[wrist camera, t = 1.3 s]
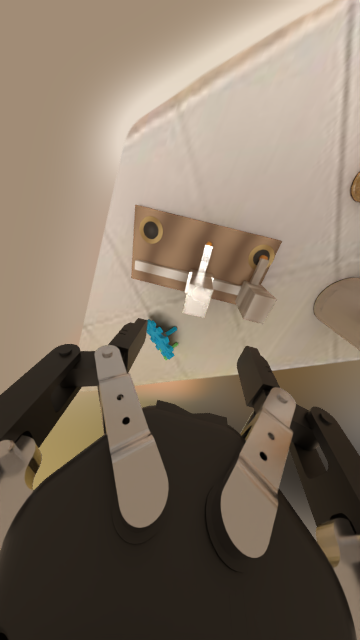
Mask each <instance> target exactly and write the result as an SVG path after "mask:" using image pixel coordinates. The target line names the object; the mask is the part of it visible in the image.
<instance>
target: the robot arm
mask: <svg viewBox="0 0 360 640" xmlns="http://www.w3.org/2000/svg"><path fill="white" fill-rule="evenodd" d="M314 313H315V315H316V317H317V318H318V319H319V320H320V321H321V322H323V323H324V324H325V325H327V326H328V327H329V328H331V329H332V330H333V331H335V332H336V333H337V334H338V335H340V336H341V337H342V338H344V339H345V340H346V341H348V342H349V343H350V344H352V345H353V346H354V347H356V348H357V349H358V350H360V278H348V279H344V280H340V281H338V282H336V283H334V284H332V285H330V286H329V287H327V288H326V289H325V290H324V291H323V292H322V293H321V294H320V295H319V296H318V298H317V300H316V302H315V305H314ZM147 324H148V321H147V320H144V319H140V318H138V319H137V320H136V322H135V323H128V324H126V325H124V327H123V328H122V329H121V330H120V331H119V333H118V334H117V335H116V336H115V337H114V339H113V340H112V341H111V342H110V343H109V344H108V345H105V346H102V347H100V348H98V349H97V350H96V351H80V348H79V347H78V346H77V345H74V344H65V345H61V346H58V347H56V348H55V349H53V350H52V351H51V352H50V353H49V354H47V355H46V356H45V357H44V358H43V359H42V360H41V361H39V362H38V363H37V364H36V365H35V366H34V367H32V368H31V369H30V370H29V371H28V372H27V373H25V374H24V375H23V376H22V377H21V378H20V379H19V380H17V381H16V382H15V383H14V384H13V385H11V386H10V387H9V388H8V389H7V390H6V391H5V392H4V393H2V394H1V395H0V549H1V550H0V640H360V456H359V455H358V453H357V451H356V450H355V448H354V447H353V445H352V444H351V442H350V441H349V439H348V438H347V436H346V435H345V433H344V432H343V430H342V429H341V427H340V426H339V424H338V423H337V421H336V420H335V419H334V418H333V417H332V416H331V415H330V414H329V413H327V412H326V411H325V410H323V409H321V408H319V407H312V408H311V409H310V410H307V409H305V408H303V407H301V406H299V405H297V404H296V403H295V401H294V399H293V398H292V397H291V395H290V394H288V393H287V392H286V391H285V390H283V389H281V388H280V387H279V385H278V383H277V380H276V378H275V376H274V375H273V373H272V370H271V368H270V366H269V364H268V362H267V361H266V360H265V359H264V358H263V357H262V356H260V353H259V351H258V349H257V348H253V347H249V346H246V347H245V348H244V350H243V352H242V354H241V355H240V357H239V359H238V362H237V369H238V373H239V377H240V381H241V385H242V389H243V393H244V397H245V401H246V405H247V406H249V407H253V408H254V411H253V413H252V414H251V416H250V418H249V419H248V421H247V423H246V425H245V426H244V428H243V430H242V431H241V433H240V434H239V433H238V432H237V431H236V430H235V429H234V428H232V427H231V426H229V425H228V424H227V418H226V417H222V416H218V415H214V414H210V413H204V414H203V413H202V414H201V413H200V414H192V413H189V412H188V411H186V410H184V409H182V408H180V407H179V406H177V405H175V404H171V403H168V402H163V401H160V400H158V401H157V404H156V405H155V406H147V407H143V408H141V405H140V402H139V399H138V396H137V393H136V390H135V387H134V384H133V381H132V378H131V375H130V373H128V372H129V370H130V368H131V366H132V364H133V363H134V361H135V359H136V357H137V355H138V353H139V351H140V349H141V348H142V346H143V344H144V342H145V338H146V332H147ZM84 386H97V387H98V394H99V401H100V407H101V415H102V424H103V431H104V435H103V436H102V437H100V438H99V439H98V440H96V441H95V442H94V443H92V444H91V445H90V446H89V447H87V448H86V449H84V450H83V451H82V452H80V453H79V454H78V455H77V456H75V457H74V458H73V459H71V460H70V461H69V462H67V463H66V464H65V465H63V466H62V467H61V468H60V469H58V470H57V471H55V472H54V473H53V474H51V475H50V476H49V477H47V478H46V479H45V480H44V481H43V482H42V483H41V484H40V485H39V486H38V487H37V488H36V489H35V490H33V480H34V477H35V475H36V473H37V471H38V469H39V467H40V464H41V461H42V454H41V452H40V450H39V447H40V445H41V444H42V443H43V441H44V440H45V438H46V437H47V436H48V434H49V433H50V431H51V430H52V428H53V427H54V426H55V424H56V423H57V421H58V420H59V418H60V417H61V416H62V414H63V413H64V411H65V410H66V408H67V407H68V406H69V404H70V403H71V401H72V400H73V399H74V397H75V396H76V394H77V393H78V392H79V390H80V389H81V387H84ZM318 446H320V447H321V449H322V451H323V453H324V455H325V457H326V459H327V461H328V471H326V469H325V467H324V465H323V463H322V461H321V459H320V457H319V454H318V452H317V450H316V447H318ZM289 449H290V452H291V455H292V458H293V460H294V463H295V466H296V469H297V472H298V474H299V477H300V480H301V483H302V486H303V489H304V491H305V494H306V497H307V500H308V503H309V506H310V509H311V511H312V514H313V517H314V520H315V522H316V526H317V527H316V539H317V542H316V540H315V539H314V537H313V536H312V535H311V533H310V532H309V530H308V529H307V527H306V526H305V525H304V523H303V522H302V520H301V519H300V517H299V516H298V515H297V513H296V512H295V510H294V509H293V507H292V506H291V505H290V503H289V502H288V501H287V499H286V497H285V496H284V495H283V493H282V492H281V491H280V489H279V484H280V481H281V477H282V473H283V469H284V465H285V462H286V458H287V454H288V450H289Z"/></svg>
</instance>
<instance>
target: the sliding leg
mask: <svg viewBox="0 0 360 640" xmlns="http://www.w3.org/2000/svg"><path fill="white" fill-rule="evenodd" d="M212 249H213V246H212V243H211V242H207V243H206V245H205V248H204V252H203V256H202V259H201V263H200V267H199V271H197V270H193V269H190V272H189V276H188V280H187V284H186V288H185V293H187V295H186V299H185V303H184V307H183V311H182V313H186V314H190V315H193V316H197V317H201V318H204V317H205V314H206V311H207V308H208V305H209V302H210V299H211V296H212V293H213V284H212V282H213V279H214V277H213V274H209V273H206V269H207V266H208V262H209V259H210V255H211V252H212Z"/></svg>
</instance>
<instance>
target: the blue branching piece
mask: <svg viewBox="0 0 360 640" xmlns="http://www.w3.org/2000/svg"><path fill="white" fill-rule="evenodd" d="M147 321H148V324H147V329H148V330H147V333H148V334H149V335H150V336H151V338H150V339H151V341H152V342H154V343H155V344H156V348H157V349H158V350H160V351H161V354H162V355H163V356H164V359H165V360H167V359H171V358H172V357H173V356H174V354H173V353H172V351H173V348H174V347H176V346H177V345H178V343H177V342H176V343H175V344H174V345H172V346H170V344H169V342H170V341H169V339H168V336H169V335H171V334H172V333H173V332H175V331H176V330H177V328H176V327H173V328H172V329H170V330H169V331H167V332H166V333H164V332H163V330H162V329H161V327H158V328H156V327H155V326H156V323H155V322H154V321H153V320H152V321H151V320H149V319H148V320H147ZM162 332H163V333H162ZM161 333H162V334H161Z"/></svg>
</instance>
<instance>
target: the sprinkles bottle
mask: <svg viewBox="0 0 360 640" xmlns="http://www.w3.org/2000/svg"><path fill="white" fill-rule="evenodd" d="M351 189H352V190H351V194H352V196H353V198H354V200H355V201H358V202H360V172H359V173H358V175H357V176H356V178H355V180H354V182H353V185H352V188H351Z"/></svg>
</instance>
